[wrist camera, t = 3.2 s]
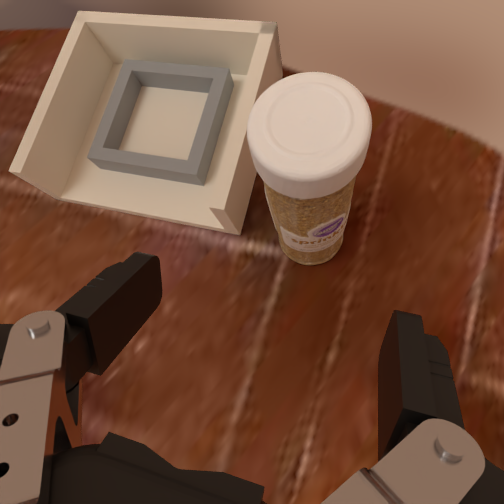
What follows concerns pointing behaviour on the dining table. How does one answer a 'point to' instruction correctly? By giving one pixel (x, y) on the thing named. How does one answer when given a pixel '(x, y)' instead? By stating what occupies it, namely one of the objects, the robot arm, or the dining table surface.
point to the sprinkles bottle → (309, 159)
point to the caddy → (152, 117)
